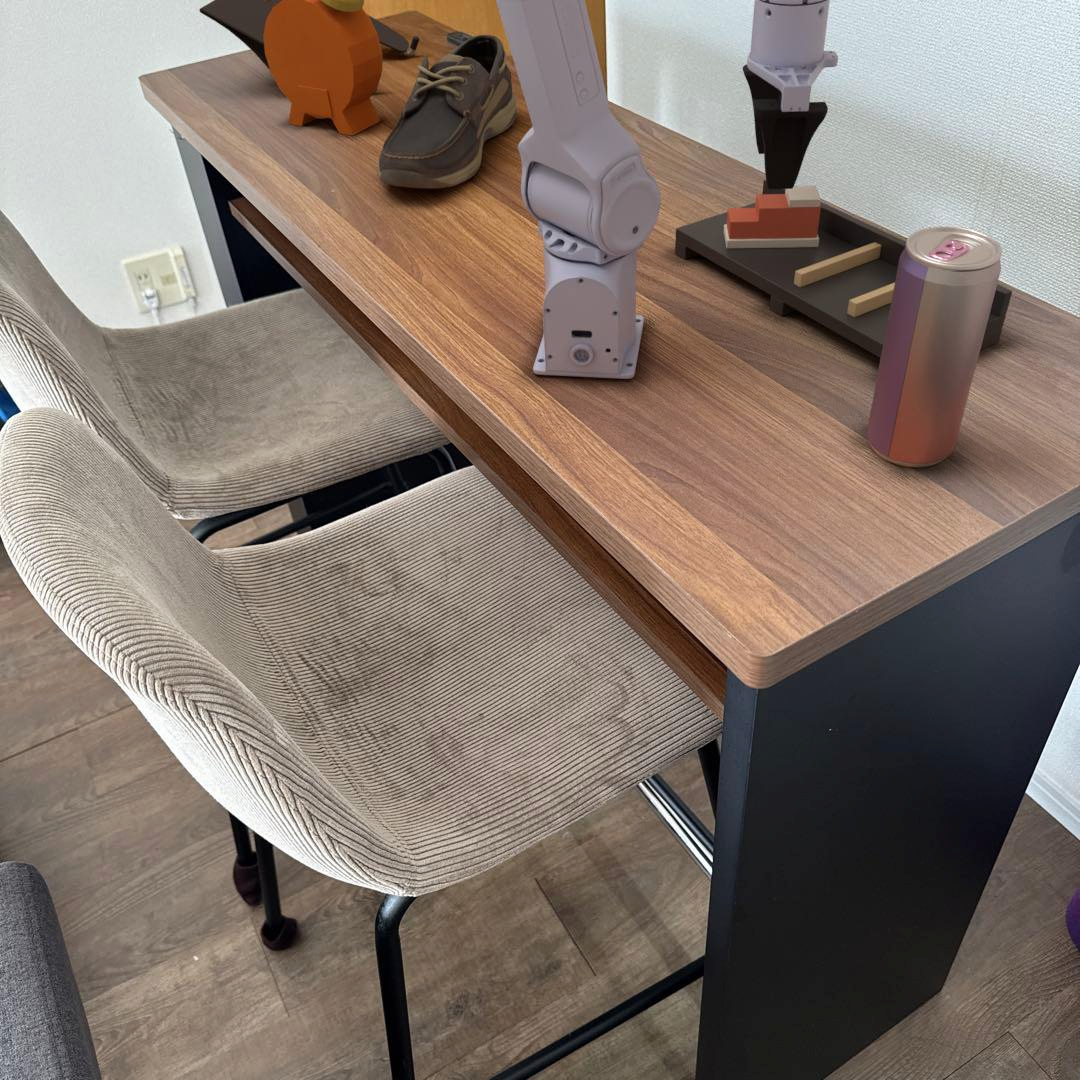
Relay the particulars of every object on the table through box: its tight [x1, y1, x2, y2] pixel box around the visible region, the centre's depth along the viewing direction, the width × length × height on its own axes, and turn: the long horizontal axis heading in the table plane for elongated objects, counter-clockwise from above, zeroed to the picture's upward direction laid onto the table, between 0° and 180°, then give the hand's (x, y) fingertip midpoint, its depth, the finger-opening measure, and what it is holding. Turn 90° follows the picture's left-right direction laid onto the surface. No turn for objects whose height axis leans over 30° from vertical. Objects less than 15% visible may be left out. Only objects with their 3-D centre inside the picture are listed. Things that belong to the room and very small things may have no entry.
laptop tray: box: [198, 0, 420, 93], centre depth 143 cm, size 23×23×9 cm
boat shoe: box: [377, 34, 518, 190], centre depth 117 cm, size 11×29×11 cm, turn 166°
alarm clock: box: [263, 0, 383, 136], centre depth 123 cm, size 13×6×20 cm, turn 59°
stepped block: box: [724, 185, 822, 249], centre depth 93 cm, size 8×3×4 cm, turn 87°
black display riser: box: [674, 178, 1013, 359], centre depth 90 cm, size 28×11×4 cm, turn 32°
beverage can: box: [866, 225, 1003, 468], centre depth 70 cm, size 6×6×15 cm
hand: (774, 169), depth 91 cm, fingers open, 7 cm apart
